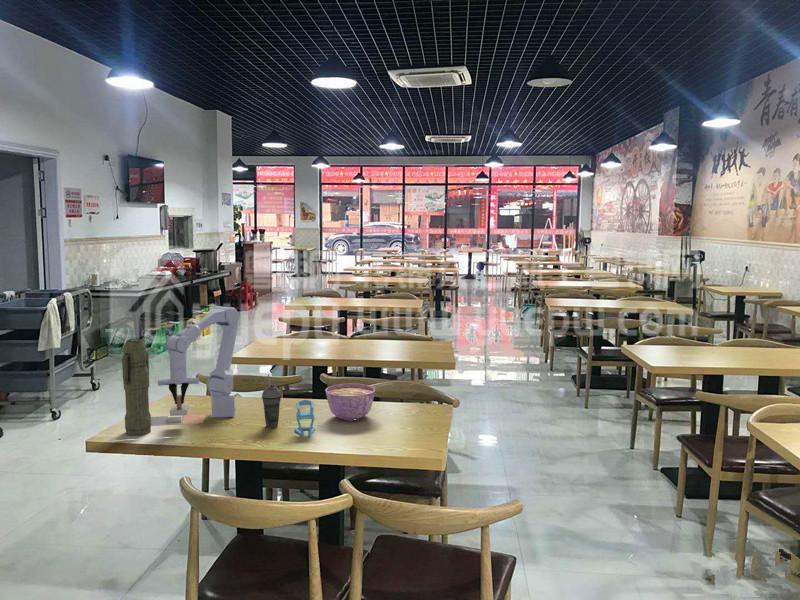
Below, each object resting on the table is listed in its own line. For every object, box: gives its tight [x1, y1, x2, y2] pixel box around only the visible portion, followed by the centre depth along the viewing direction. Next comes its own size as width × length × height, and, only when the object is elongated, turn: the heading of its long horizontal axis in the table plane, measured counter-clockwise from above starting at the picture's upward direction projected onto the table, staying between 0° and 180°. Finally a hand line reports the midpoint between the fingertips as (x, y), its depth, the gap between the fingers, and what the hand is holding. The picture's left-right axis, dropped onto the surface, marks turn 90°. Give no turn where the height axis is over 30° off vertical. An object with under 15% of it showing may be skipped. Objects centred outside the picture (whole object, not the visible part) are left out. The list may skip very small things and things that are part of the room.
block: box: [167, 413, 182, 422], centre depth 255 cm, size 5×5×2 cm
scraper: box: [169, 394, 190, 416], centre depth 245 cm, size 6×8×6 cm
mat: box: [151, 413, 206, 427], centre depth 255 cm, size 23×12×1 cm, turn 102°
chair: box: [294, 399, 316, 438], centre depth 242 cm, size 8×8×12 cm
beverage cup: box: [261, 374, 282, 429], centre depth 249 cm, size 7×7×20 cm
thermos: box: [121, 338, 152, 437], centre depth 238 cm, size 9×12×35 cm
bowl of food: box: [324, 383, 376, 421], centre depth 261 cm, size 20×20×12 cm
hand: (179, 403), depth 245 cm, fingers closed on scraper
